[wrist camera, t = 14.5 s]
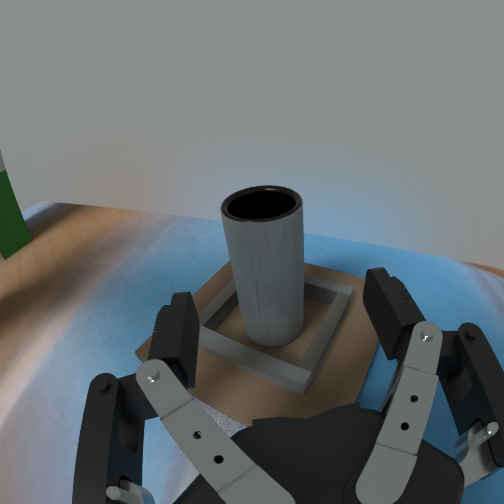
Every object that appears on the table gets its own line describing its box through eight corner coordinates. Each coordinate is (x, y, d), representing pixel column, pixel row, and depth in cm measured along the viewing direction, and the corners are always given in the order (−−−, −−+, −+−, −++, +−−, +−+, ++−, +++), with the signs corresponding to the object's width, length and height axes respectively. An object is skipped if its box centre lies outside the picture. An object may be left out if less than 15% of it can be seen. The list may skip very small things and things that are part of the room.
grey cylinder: (268, 295, 24) (255, 180, 18) (314, 317, 22) (317, 193, 16) (232, 330, 22) (203, 209, 16) (280, 358, 19) (269, 230, 13)
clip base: (139, 359, 21) (127, 340, 20) (245, 254, 32) (242, 234, 30) (326, 460, 13) (331, 450, 12) (392, 294, 24) (398, 273, 23)
